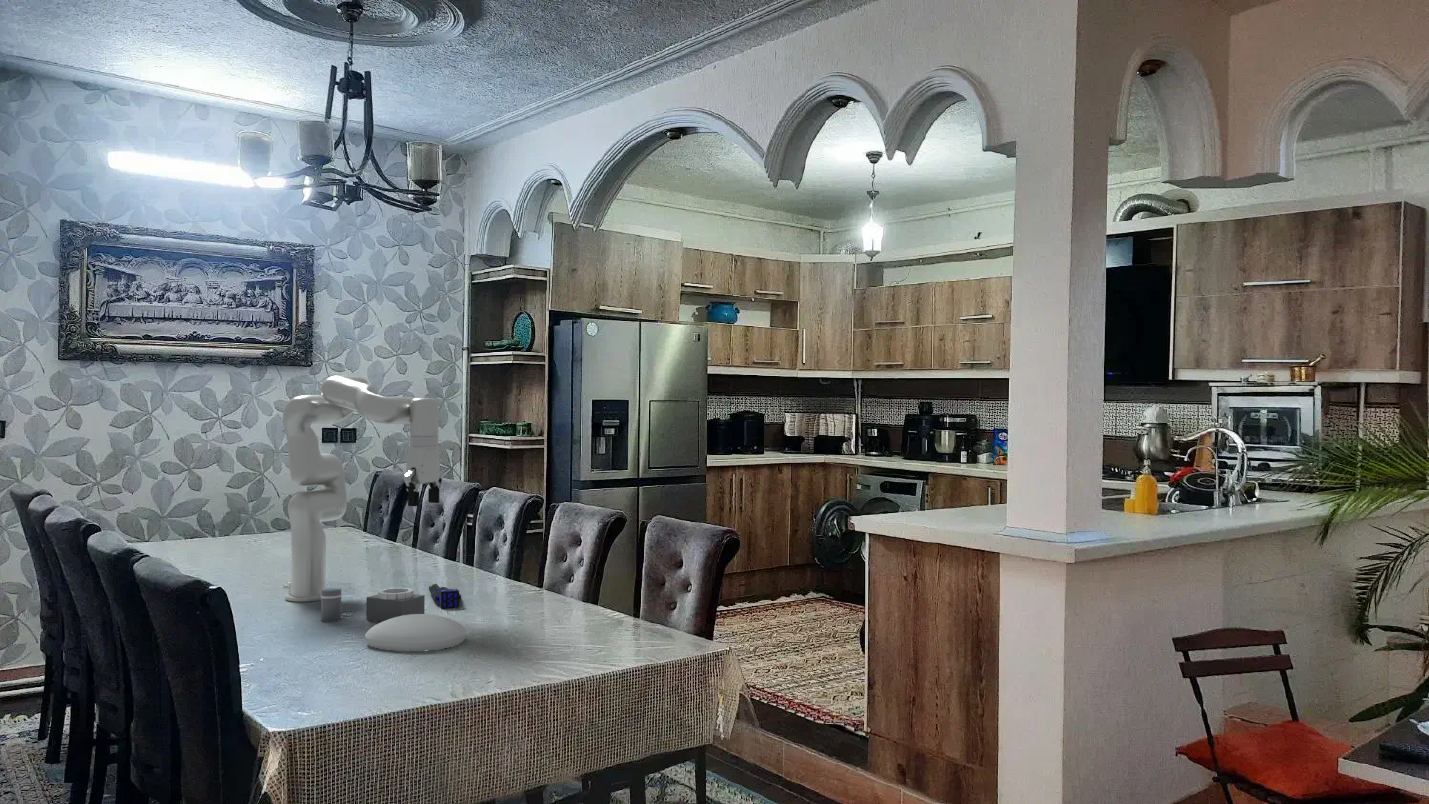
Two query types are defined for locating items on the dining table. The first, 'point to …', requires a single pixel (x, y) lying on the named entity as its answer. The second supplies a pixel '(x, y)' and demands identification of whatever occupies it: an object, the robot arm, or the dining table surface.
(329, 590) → the lens
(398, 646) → the decorative item
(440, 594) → the toy
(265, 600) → the dining table surface
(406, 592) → the camera body
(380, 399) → the robot arm
